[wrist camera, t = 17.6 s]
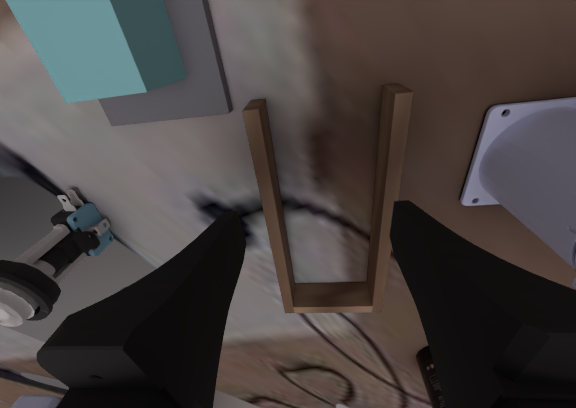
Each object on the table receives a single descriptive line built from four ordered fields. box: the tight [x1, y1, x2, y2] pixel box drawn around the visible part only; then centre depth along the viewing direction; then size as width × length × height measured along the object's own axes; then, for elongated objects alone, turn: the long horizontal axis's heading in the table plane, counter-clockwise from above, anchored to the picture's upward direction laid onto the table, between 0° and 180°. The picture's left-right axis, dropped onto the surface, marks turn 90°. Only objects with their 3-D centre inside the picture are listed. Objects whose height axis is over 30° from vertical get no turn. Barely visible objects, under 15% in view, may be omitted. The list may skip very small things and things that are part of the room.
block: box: [6, 0, 187, 103], centre depth 13 cm, size 4×6×5 cm
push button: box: [0, 190, 113, 326], centre depth 21 cm, size 7×5×10 cm
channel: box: [243, 83, 414, 313], centre depth 22 cm, size 10×21×3 cm, turn 7°
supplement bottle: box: [417, 347, 445, 408], centre depth 30 cm, size 7×7×12 cm
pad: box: [98, 0, 233, 126], centre depth 16 cm, size 9×9×1 cm
